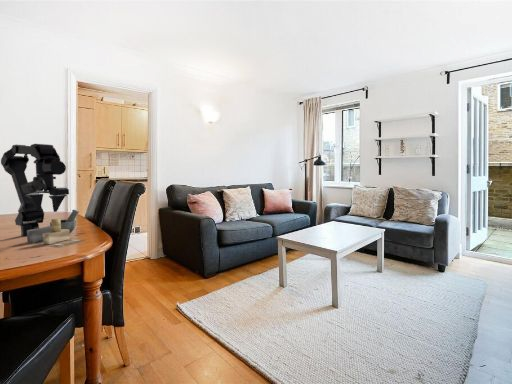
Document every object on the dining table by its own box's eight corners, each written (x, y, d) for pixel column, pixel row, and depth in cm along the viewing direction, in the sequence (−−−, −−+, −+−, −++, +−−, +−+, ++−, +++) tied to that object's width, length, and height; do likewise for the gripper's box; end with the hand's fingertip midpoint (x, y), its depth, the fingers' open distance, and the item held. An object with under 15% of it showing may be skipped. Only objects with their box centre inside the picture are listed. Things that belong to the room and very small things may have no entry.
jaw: (43, 243, 110) (41, 221, 109) (64, 238, 119) (63, 217, 118) (49, 244, 109) (48, 221, 108) (69, 238, 118) (68, 217, 117)
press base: (22, 247, 111) (21, 231, 110) (51, 240, 122) (51, 225, 122) (61, 251, 106) (60, 234, 105) (87, 243, 118) (86, 228, 117)
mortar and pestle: (50, 239, 123) (49, 212, 122) (50, 235, 131) (49, 209, 130) (80, 236, 130) (79, 210, 129) (79, 232, 138) (78, 208, 136)
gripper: (6, 174, 113) (9, 213, 114) (43, 175, 108) (45, 215, 109) (35, 174, 123) (37, 209, 125) (69, 174, 119) (70, 211, 120)
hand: (46, 211), depth 119 cm, fingers open, 9 cm apart
